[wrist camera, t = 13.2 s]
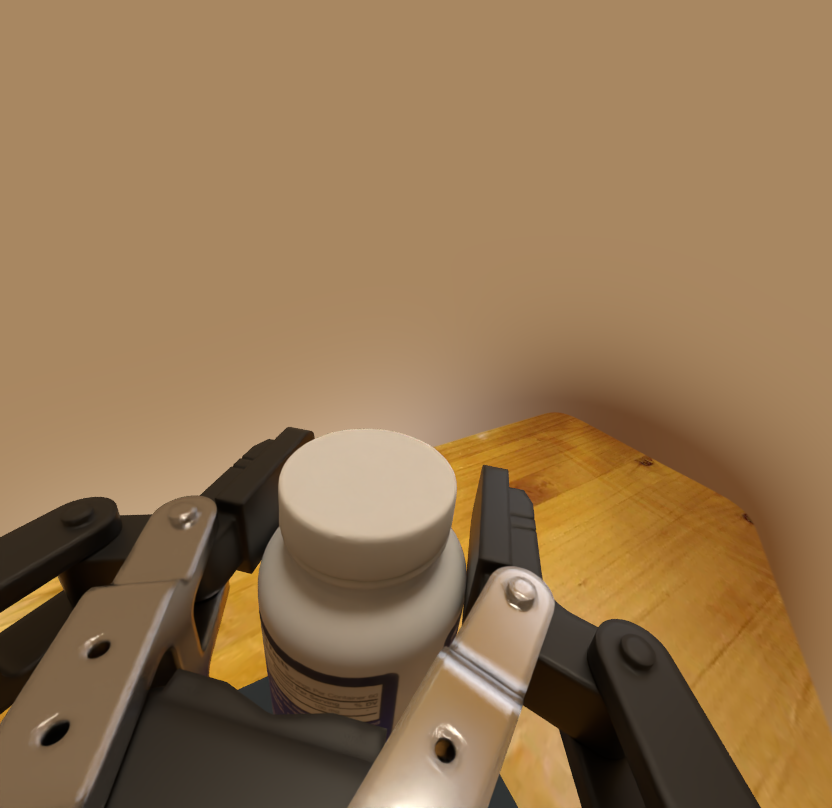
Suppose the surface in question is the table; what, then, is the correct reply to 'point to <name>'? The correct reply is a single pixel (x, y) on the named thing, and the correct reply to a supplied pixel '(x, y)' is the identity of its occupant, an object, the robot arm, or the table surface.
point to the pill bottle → (360, 575)
